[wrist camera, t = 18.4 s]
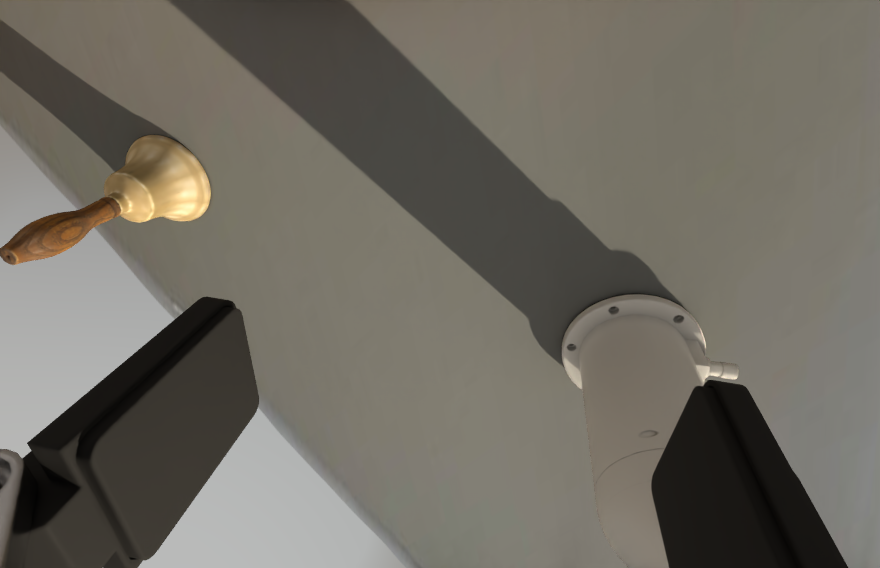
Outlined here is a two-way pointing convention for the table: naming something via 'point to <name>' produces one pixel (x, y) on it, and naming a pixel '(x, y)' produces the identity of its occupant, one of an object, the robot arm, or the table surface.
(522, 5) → the table surface
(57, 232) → the hand bell
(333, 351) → the table surface
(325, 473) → the table surface
